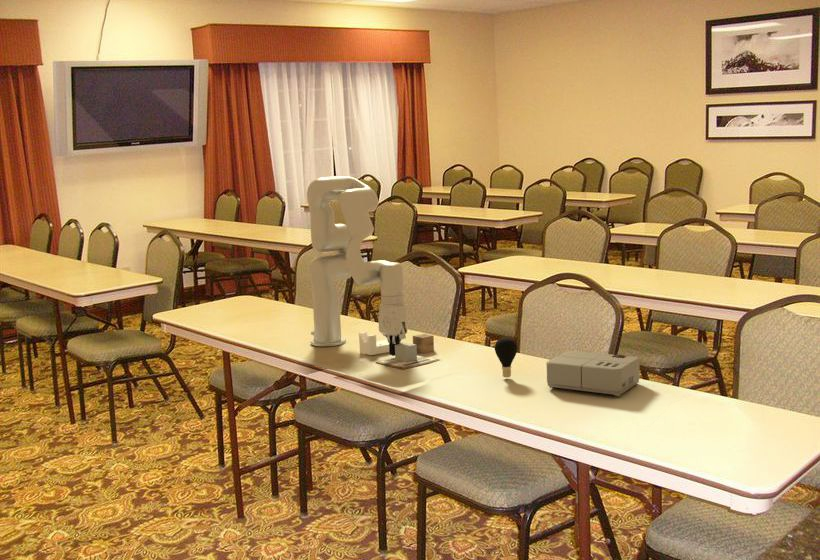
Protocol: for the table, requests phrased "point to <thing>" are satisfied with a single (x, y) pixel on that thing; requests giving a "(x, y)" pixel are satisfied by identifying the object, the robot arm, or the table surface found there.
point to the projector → (593, 372)
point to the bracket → (372, 344)
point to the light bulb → (506, 353)
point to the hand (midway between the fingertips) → (394, 354)
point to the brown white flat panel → (405, 365)
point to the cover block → (405, 352)
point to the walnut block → (424, 343)
